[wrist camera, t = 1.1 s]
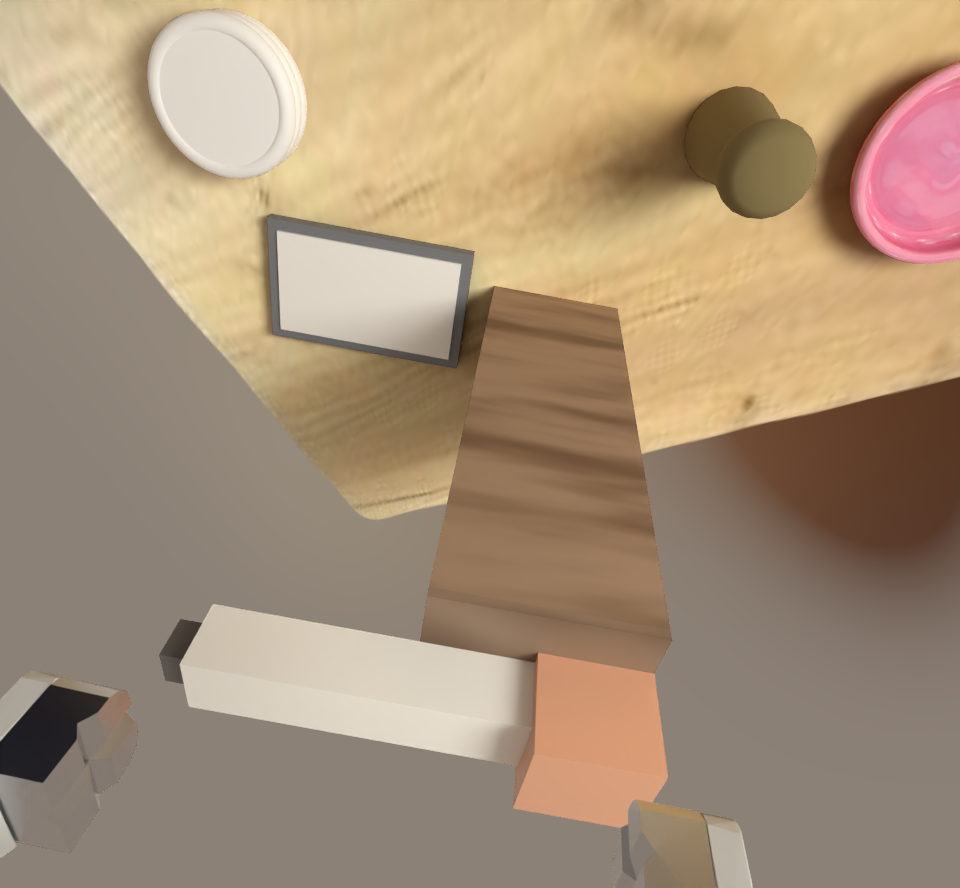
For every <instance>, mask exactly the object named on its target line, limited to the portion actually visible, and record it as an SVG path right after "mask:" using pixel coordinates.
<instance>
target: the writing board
mask: <svg viewBox="0 0 960 888" xmlns="http://www.w3.org/2000/svg"><path fill="white" fill-rule="evenodd" d="M267 230H268V251H269V271H270V292H271V312H272V333H273V335H277V336H282V337H288V338H293V339H299V340H304V341H310V342H315V343H321V344H326V345H331V346H337V347H342V348H348V349H353V350H359V351H364V352H370V353H375V354H380V355H386V356H391V357H397V358H402V359H408V360H413V361H419V362H424V363H429V364H435V365H440V366H446V367H451V368H457V365H458V360H459V353H460V347H461V340H462V333H463V326H464V319H465V313H466V306H467V299H468V292H469V286H470V279H471V272H472V265H473V258H474V252H475V251H469V250H464V249H459V248H453V247H448V246H442V245H437V244H431V243H426V242H421V241H415V240H410V239H404V238H399V237H394V236H388V235H383V234H377V233H372V232H366V231H361V230H356V229H350V228H345V227H339V226H334V225H329V224H323V223H318V222H312V221H307V220H301V219H296V218H291V217H285V216H280V215H274V214H271V215H270V216H269V217H267Z"/></svg>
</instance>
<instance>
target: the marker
mask: <svg viewBox="0 0 960 888" xmlns="http://www.w3.org/2000/svg"><path fill="white" fill-rule="evenodd" d="M159 656H160V660H161V664H162V668H163V672H164V676H165V680H166V681H171V682H176V683H182V684H184V687H185V691H186V696H187V701H188V705H189V707H195V708H200V709H205V710H211V711H216V712H222V713H228V714H233V715H238V716H244V717H250V718H255V719H261V720H266V721H272V722H277V723H283V724H288V725H294V726H300V727H305V728H311V729H316V730H321V731H328V732H333V733H338V734H344V735H349V736H355V737H360V738H366V739H371V740H377V741H383V742H388V743H393V744H399V745H405V746H410V747H416V748H421V749H427V750H432V751H438V752H443V753H449V754H454V755H460V756H466V757H472V758H477V759H483V760H488V761H493V762H499V763H504V764H510V765H515V766H516V768H515V785H514V803H513V808H514V809H520V810H525V811H531V812H536V813H542V814H547V815H553V816H559V817H564V818H570V819H575V820H581V821H587V822H592V823H597V824H603V825H609V826H614V827H619V828H621V827H623V826H625V825H627V824H628V809H629V807H630V805H631V803H632V801H634V800H636V799H637V800H642V801H648V802H653V800H654V798H655V797H656V795H657V794H658V792H659V791H660V789H661V788H662V786H663V785H664V783H665V782H666V780H667V779H668V774H667V766H666V759H665V751H664V743H663V735H662V728H661V720H660V713H659V705H658V698H657V690H656V683H655V675H654V674H653V673H648V672H642V671H637V670H631V669H626V668H620V667H614V666H609V665H603V664H598V663H592V662H587V661H581V660H576V659H570V658H565V657H559V656H554V655H548V654H543V653H538V654H537V657H536V660H535V662H530V661H524V660H519V659H513V658H508V657H502V656H497V655H491V654H486V653H480V652H475V651H469V650H464V649H458V648H453V647H447V646H442V645H436V644H431V643H425V642H420V641H414V640H408V639H403V638H398V637H392V636H386V635H381V634H375V633H370V632H364V631H359V630H353V629H347V628H342V627H337V626H331V625H326V624H320V623H315V622H309V621H304V620H298V619H293V618H287V617H282V616H276V615H271V614H265V613H260V612H254V611H249V610H243V609H237V608H232V607H227V606H221V605H215V604H213V605H212V607H211V609H210V611H209V612H208V614H207V616H206V618H205V619H204V621H203V623H199V622H194V621H188V620H182V619H181V620H180V621H179V622H178V624H177V626H176V628H175V629H174V631H173V633H172V634H171V636H170V638H169V639H168V641H167V643H166V644H165V646H164V648H163V649H162V651H161V653H160V654H159Z"/></svg>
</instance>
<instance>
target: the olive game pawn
mask: <svg viewBox="0 0 960 888" xmlns="http://www.w3.org/2000/svg"><path fill="white" fill-rule="evenodd" d="M684 148H685V156H686V158H687V161H688V163H689V166H690V168H691V169H692V170H693V171H694V172H695V173H696V174H697V175H698V176H699V177H701V178H703V179H704V180H706V181H708V182H710V183H712V184H714V185H716V187H717V190H718V192H719V195H720V197H721V199H722V201H723V202H724V203H725V204H726V205H727V207H728V208H729V209H730V210H731V211H732V212H735V213H737V214H739V215H741V216H743V217H747V218H757V219H763V218H768V217H773V216H776V215H778V214H780V213H782V212H784V211H786V210H788V209H790V208H791V207H792V206H793V205H794V204H796V203H797V202H798V201H799V200H800V199H801V198H802V197H803V195H804V194H805V193H806V191H807V190H808V188H809V187H810V185H811V183H812V180H813V177H814V174H815V171H816V151H815V148H814V145H813V142H812V139H811V137H810V136H809V135H808V134H807V133H806V131H805V130H804V129H803V128H802V127H800V126H798V125H796V124H794V123H792V122H790V121H788V120H786V119H780V117H779V115H778V113H777V112H776V110H775V108H774V106H773V104H772V103H771V102H770V101H769V100H768V99H767V97H766V96H765V95H764V94H763V93H761V92H759V91H757V90H755V89H753V88H749V87H737V86H736V87H732V88H728V89H724V90H721V91H719V92H717V93H716V94H714V95H712V96H711V97H709V98H707V99H706V100H705V101H704V102H703V103H702V104H701V106H700V107H699V108H698V109H697V110H696V111H695V112H694V114H693V116H692V118H691V120H690V122H689V124H688V125H687V130H686V134H685V138H684Z"/></svg>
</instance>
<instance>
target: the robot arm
mask: <svg viewBox="0 0 960 888" xmlns="http://www.w3.org/2000/svg"><path fill="white" fill-rule="evenodd" d="M130 706H131V701H130V697H129V694H128V691H126V690H121V689H117V688H112V687H107V686H103V685H98V684H93V683H89V682H84V681H79V680H74V679H71V678H68V677H64V676H59V675H54V674H49V673H44V672H39V671H32V672H30V673H28V674H27V675H25V676H23V677H22V678H20V679H19V680H18V681H17V682H16V683H15V684H14V685H13V687H11V689H10V690H9V691H8V692H7V693H6V694H5V695H4V696H3V697H2V698H1V699H0V858H1V857H2V856H4V855H5V854H6V853H8V852H9V851H11V850H12V849H13V848H15V847H16V843H21V844H26V845H31V846H36V847H41V848H46V849H51V850H56V851H61V852H67V853H71V851H72V850H73V848H74V847H75V845H76V844H77V842H78V841H79V839H80V838H81V836H82V835H83V833H84V832H85V830H86V829H87V827H88V826H89V824H90V823H91V821H92V820H93V819H94V817H95V815H96V814H97V813H98V811H99V794H100V793H101V792H103V791H105V790H106V789H108V788H109V787H111V786H113V785H114V784H116V783H117V782H118V781H119V780H120V778H121V776H122V775H123V773H124V772H125V770H126V769H127V767H128V765H129V763H130V761H131V759H132V756H133V753H134V751H135V748H136V746H137V738H138V729H137V725H136V722H135V721H134V720H133V719H132V718H131V717H130V716H129V715H128V714H127V713H126V711H127V710H128V709H129V707H130ZM15 842H16V843H15ZM613 888H753V886H752V881H751V876H750V872H749V867H748V862H747V857H746V852H745V847H744V843H743V838H742V833H741V829H740V828H739V826H738V824H737V822H735V821H734V820H733V819H730V818H725V817H720V816H715V815H710V814H705V813H700V812H699V811H694V810H688V809H684V808H678V807H673V806H668V805H663V804H658V803H653V802H648V801H642V800H637V799H636V800H634V801H632V803H631V805H630V807H629V809H628V824H627V825H625V826H623V827H621V829H620V831H619V834H618V837H617V840H616V845H615V851H614V857H613Z"/></svg>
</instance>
